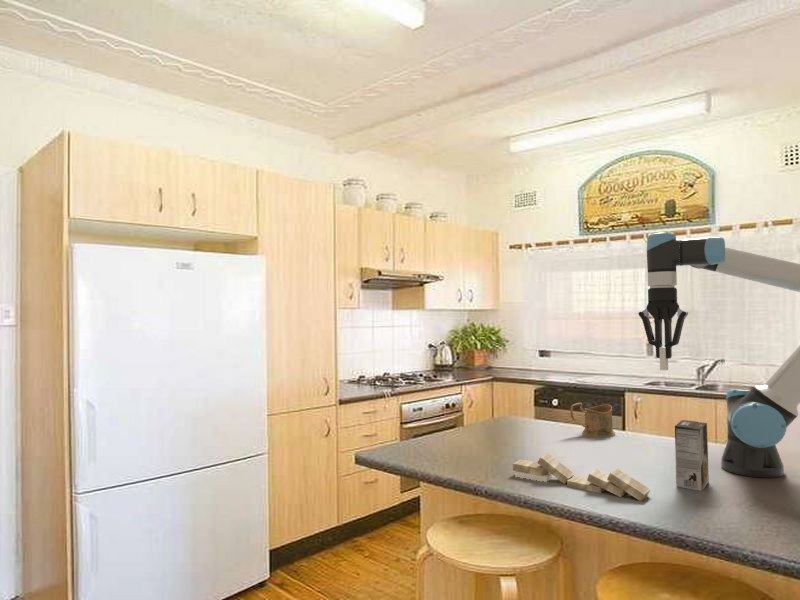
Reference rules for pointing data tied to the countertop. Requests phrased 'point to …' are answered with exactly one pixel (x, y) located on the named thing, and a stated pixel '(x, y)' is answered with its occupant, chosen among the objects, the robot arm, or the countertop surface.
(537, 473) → the domino
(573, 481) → the domino
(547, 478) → the domino
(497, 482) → the countertop surface
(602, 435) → the mug
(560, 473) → the domino
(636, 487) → the domino
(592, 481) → the domino
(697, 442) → the coffee box
